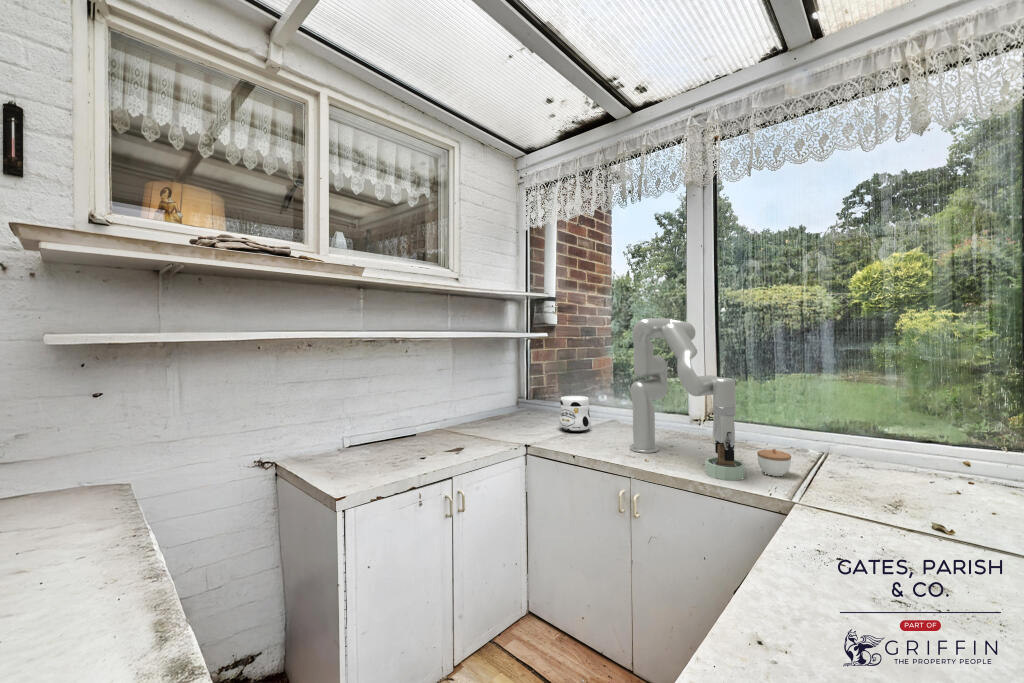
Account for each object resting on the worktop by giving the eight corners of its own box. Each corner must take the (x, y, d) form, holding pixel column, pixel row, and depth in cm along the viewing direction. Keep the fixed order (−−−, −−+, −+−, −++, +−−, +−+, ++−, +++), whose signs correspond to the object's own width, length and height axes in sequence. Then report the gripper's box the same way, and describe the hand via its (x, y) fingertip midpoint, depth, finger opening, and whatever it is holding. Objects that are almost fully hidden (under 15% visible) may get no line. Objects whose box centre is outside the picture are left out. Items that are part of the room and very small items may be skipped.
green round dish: (701, 468, 167) (701, 456, 167) (736, 469, 165) (736, 457, 165) (711, 479, 154) (711, 467, 154) (750, 480, 152) (750, 468, 152)
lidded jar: (796, 479, 152) (796, 453, 152) (763, 478, 155) (763, 452, 154) (783, 470, 163) (783, 445, 163) (753, 468, 165) (753, 444, 165)
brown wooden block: (717, 470, 161) (717, 444, 161) (731, 470, 160) (731, 444, 160) (720, 472, 158) (719, 445, 158) (734, 473, 158) (734, 446, 157)
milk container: (558, 433, 227) (557, 400, 227) (560, 426, 244) (559, 395, 244) (591, 434, 225) (590, 400, 224) (590, 427, 242) (590, 395, 241)
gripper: (706, 406, 168) (706, 450, 168) (721, 415, 151) (721, 463, 151) (726, 407, 167) (726, 450, 167) (744, 415, 150) (744, 464, 150)
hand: (724, 456), depth 159 cm, fingers open, 9 cm apart
